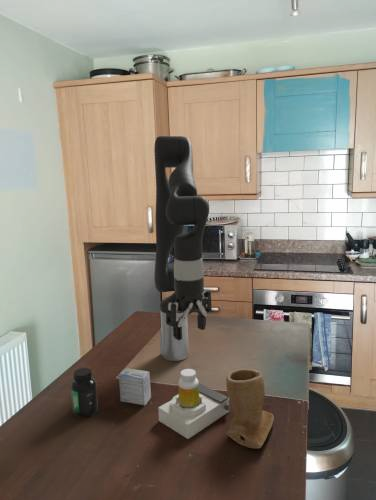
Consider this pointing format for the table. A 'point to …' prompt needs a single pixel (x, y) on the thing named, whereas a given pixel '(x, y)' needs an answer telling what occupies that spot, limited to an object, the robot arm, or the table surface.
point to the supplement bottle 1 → (84, 393)
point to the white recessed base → (194, 412)
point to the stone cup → (248, 408)
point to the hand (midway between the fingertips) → (190, 333)
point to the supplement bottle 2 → (188, 389)
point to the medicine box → (135, 386)
